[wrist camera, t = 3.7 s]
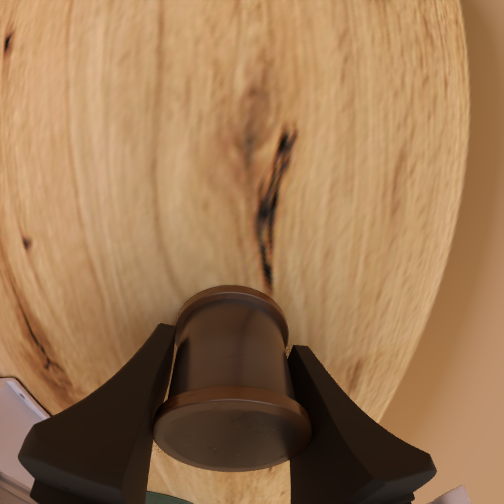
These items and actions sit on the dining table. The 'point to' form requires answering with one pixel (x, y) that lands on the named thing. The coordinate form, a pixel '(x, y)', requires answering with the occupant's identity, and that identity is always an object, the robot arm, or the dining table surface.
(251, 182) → the dining table surface
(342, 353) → the dining table surface
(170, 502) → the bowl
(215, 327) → the spool
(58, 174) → the dining table surface
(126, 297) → the dining table surface
